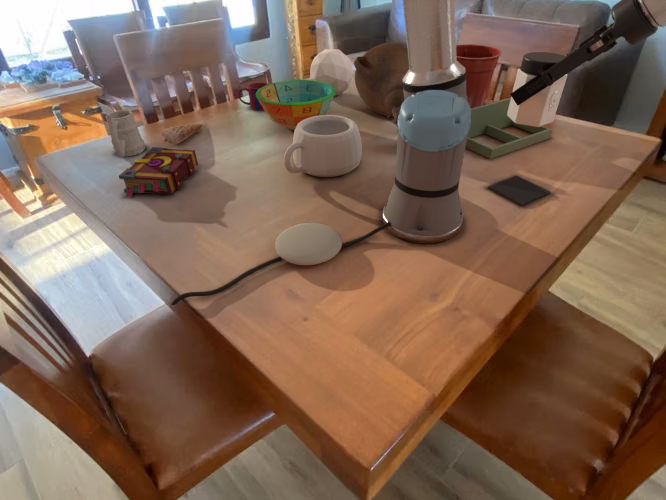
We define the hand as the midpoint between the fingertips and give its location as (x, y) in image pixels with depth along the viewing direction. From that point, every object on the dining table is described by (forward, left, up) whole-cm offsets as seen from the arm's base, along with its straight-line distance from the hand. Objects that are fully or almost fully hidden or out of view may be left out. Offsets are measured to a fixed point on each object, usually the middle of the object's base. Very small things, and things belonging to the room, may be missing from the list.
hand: (522, 93), depth 86 cm
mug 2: (-33, +27, -19) cm, 46 cm away
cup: (-29, +76, -19) cm, 83 cm away
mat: (-3, -7, -19) cm, 20 cm away
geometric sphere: (-2, +73, -19) cm, 75 cm away
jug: (+1, +43, -19) cm, 47 cm away
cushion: (-51, 0, -19) cm, 54 cm away
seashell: (-55, +64, -19) cm, 86 cm away
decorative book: (-67, +42, -19) cm, 81 cm away
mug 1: (-71, +62, -19) cm, 96 cm away
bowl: (-25, +54, -19) cm, 62 cm away
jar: (+1, -2, -5) cm, 6 cm away
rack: (+15, +14, -19) cm, 28 cm away
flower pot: (+26, +39, -19) cm, 51 cm away
